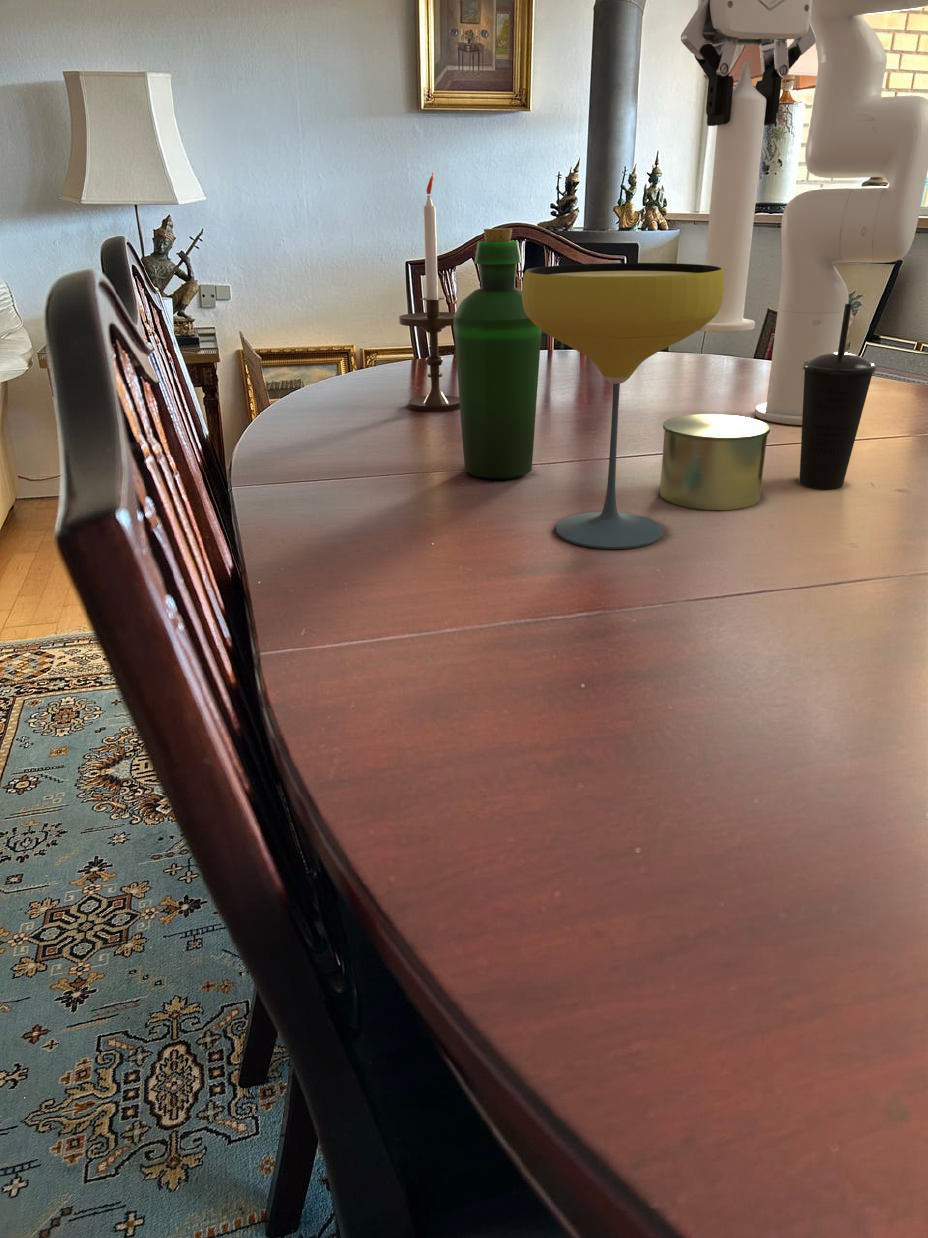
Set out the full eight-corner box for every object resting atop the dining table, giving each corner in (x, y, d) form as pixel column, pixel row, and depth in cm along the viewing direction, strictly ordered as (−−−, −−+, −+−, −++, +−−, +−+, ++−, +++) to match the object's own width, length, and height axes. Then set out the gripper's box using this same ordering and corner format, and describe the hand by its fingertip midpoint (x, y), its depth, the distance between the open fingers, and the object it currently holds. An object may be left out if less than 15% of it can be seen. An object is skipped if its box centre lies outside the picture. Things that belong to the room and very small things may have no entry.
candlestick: (471, 399, 154) (467, 172, 139) (465, 412, 144) (460, 170, 129) (408, 399, 155) (398, 174, 140) (398, 412, 145) (386, 172, 130)
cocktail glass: (661, 576, 80) (685, 278, 69) (488, 543, 89) (485, 274, 78) (723, 519, 94) (750, 263, 83) (567, 495, 102) (574, 261, 92)
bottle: (550, 464, 115) (555, 226, 103) (528, 486, 106) (531, 229, 94) (471, 458, 118) (468, 227, 106) (444, 480, 109) (436, 230, 97)
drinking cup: (823, 496, 100) (852, 309, 92) (772, 480, 106) (795, 303, 98) (870, 486, 103) (903, 304, 95) (819, 471, 109) (845, 298, 101)
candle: (757, 332, 94) (788, 53, 83) (688, 332, 95) (710, 57, 85) (751, 324, 100) (780, 64, 89) (686, 324, 101) (708, 67, 91)
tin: (724, 477, 108) (731, 410, 105) (782, 503, 98) (792, 431, 95) (640, 487, 105) (644, 419, 102) (691, 515, 95) (698, 441, 92)
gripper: (703, -124, 76) (685, 121, 84) (868, -109, 81) (836, 122, 88) (660, -97, 83) (647, 127, 90) (815, -85, 87) (789, 128, 95)
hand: (741, 122), depth 89 cm, fingers closed on candle, 4 cm apart
